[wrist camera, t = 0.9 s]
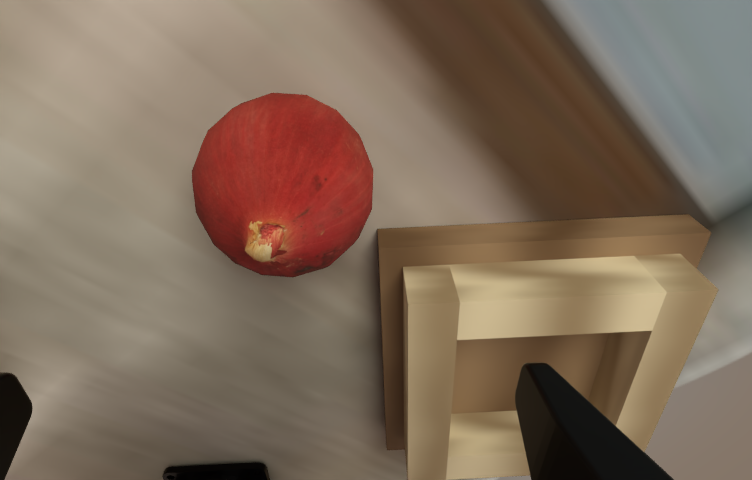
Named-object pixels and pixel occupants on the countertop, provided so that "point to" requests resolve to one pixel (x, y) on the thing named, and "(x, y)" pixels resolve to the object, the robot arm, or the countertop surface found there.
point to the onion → (283, 185)
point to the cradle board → (510, 354)
